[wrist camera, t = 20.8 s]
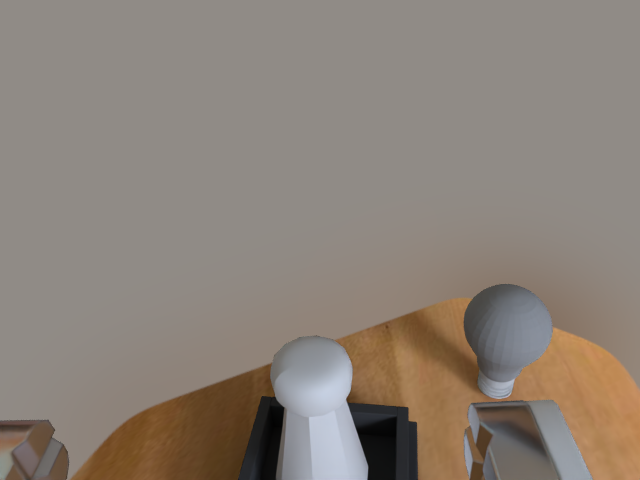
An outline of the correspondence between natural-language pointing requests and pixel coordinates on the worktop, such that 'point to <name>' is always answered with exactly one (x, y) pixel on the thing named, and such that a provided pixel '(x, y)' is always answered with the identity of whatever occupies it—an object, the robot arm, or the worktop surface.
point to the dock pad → (373, 431)
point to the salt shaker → (316, 412)
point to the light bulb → (505, 335)
